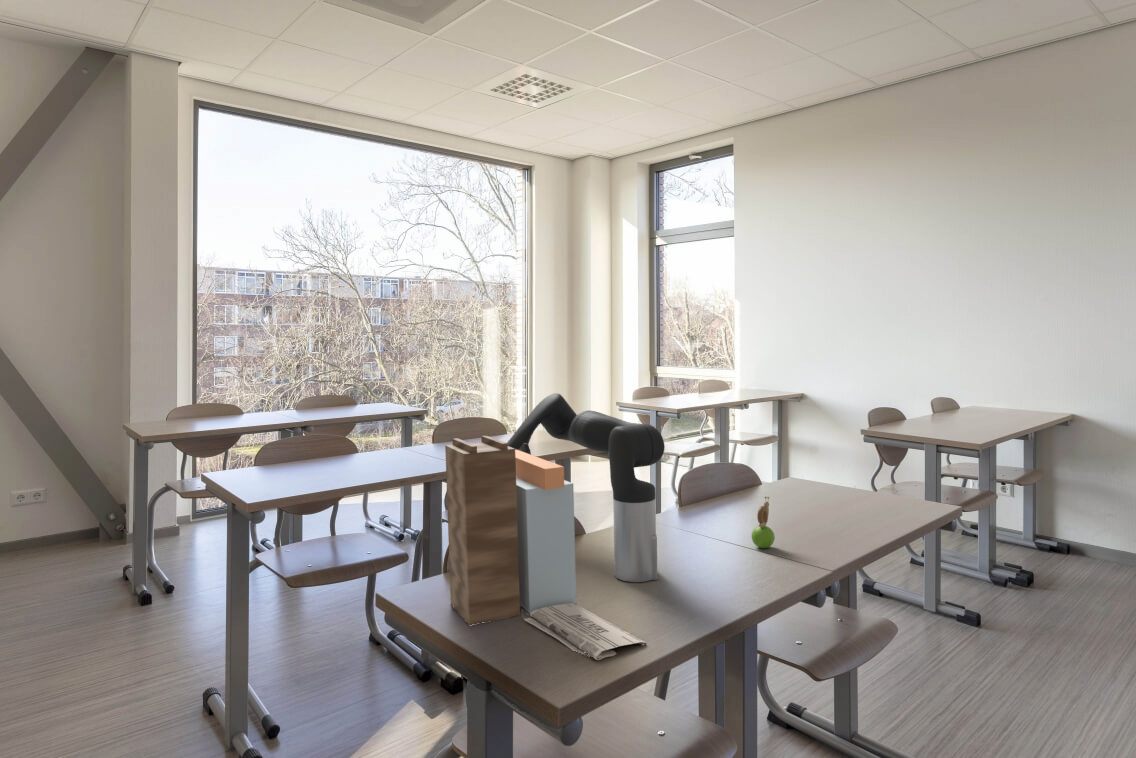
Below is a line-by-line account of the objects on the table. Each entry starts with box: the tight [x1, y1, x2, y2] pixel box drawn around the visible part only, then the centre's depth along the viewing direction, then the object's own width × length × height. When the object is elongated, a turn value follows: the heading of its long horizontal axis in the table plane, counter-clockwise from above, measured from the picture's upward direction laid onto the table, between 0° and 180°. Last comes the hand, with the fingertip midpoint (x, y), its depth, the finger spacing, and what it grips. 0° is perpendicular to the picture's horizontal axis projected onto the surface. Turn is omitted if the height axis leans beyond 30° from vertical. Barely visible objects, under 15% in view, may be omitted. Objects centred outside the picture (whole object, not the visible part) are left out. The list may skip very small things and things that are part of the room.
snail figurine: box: [751, 496, 776, 549], centre depth 169 cm, size 5×6×12 cm
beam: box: [515, 450, 565, 490], centre depth 141 cm, size 24×4×4 cm, turn 26°
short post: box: [516, 477, 577, 614], centre depth 139 cm, size 12×10×24 cm
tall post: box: [444, 435, 521, 626], centre depth 133 cm, size 12×10×33 cm
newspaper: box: [523, 603, 648, 661], centre depth 123 cm, size 23×12×2 cm, turn 33°
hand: (508, 449), depth 151 cm, fingers open, 8 cm apart
